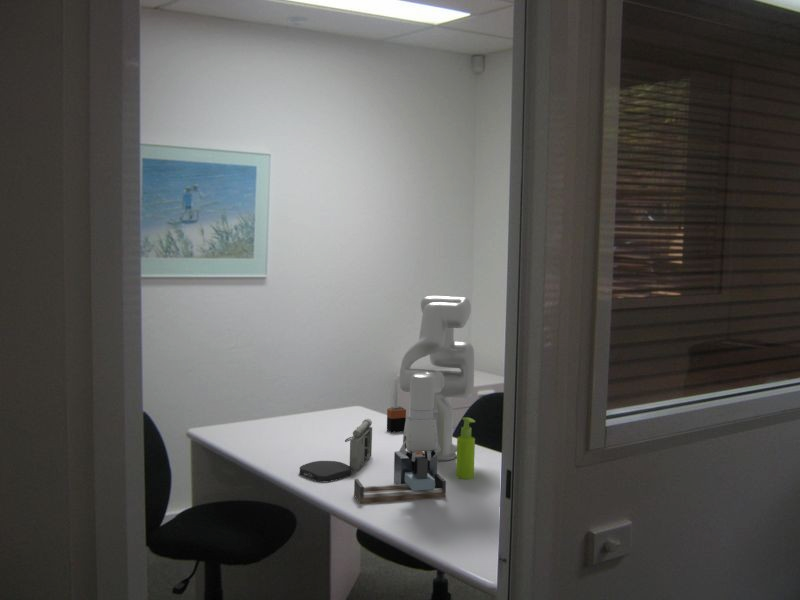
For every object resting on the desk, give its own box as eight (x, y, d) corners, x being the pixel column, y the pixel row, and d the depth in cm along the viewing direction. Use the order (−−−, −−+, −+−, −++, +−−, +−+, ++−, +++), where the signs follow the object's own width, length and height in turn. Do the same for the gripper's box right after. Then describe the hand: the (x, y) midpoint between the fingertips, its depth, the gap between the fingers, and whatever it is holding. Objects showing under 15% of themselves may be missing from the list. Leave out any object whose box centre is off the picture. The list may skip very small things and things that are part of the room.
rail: (437, 488, 256) (437, 473, 255) (445, 497, 248) (445, 481, 248) (354, 494, 248) (354, 479, 248) (360, 503, 241) (360, 487, 240)
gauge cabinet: (428, 479, 266) (429, 449, 265) (437, 487, 257) (437, 456, 257) (393, 481, 262) (394, 451, 261) (401, 489, 254) (401, 458, 253)
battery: (405, 431, 328) (406, 407, 327) (390, 432, 325) (391, 408, 324) (401, 428, 332) (401, 404, 331) (386, 430, 329) (386, 406, 328)
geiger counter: (361, 431, 271) (378, 415, 295) (343, 430, 272) (361, 413, 296) (360, 472, 272) (377, 452, 296) (342, 470, 273) (360, 451, 298)
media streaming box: (356, 475, 269) (356, 466, 269) (322, 484, 259) (322, 475, 259) (328, 465, 279) (329, 457, 279) (294, 473, 269) (294, 465, 269)
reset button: (420, 458, 262) (420, 445, 262) (424, 462, 258) (424, 449, 258) (407, 459, 261) (407, 446, 261) (411, 462, 257) (411, 450, 256)
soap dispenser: (463, 480, 265) (465, 421, 263) (452, 475, 271) (454, 416, 269) (478, 478, 268) (480, 419, 266) (467, 472, 274) (469, 415, 272)
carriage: (425, 480, 255) (426, 452, 254) (434, 489, 246) (435, 460, 246) (404, 481, 253) (405, 453, 252) (412, 490, 245) (413, 461, 244)
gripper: (442, 410, 254) (440, 467, 255) (392, 412, 249) (391, 470, 251) (450, 415, 247) (448, 474, 248) (399, 418, 242) (397, 477, 244)
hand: (419, 471), depth 249 cm, fingers closed on carriage, 3 cm apart
